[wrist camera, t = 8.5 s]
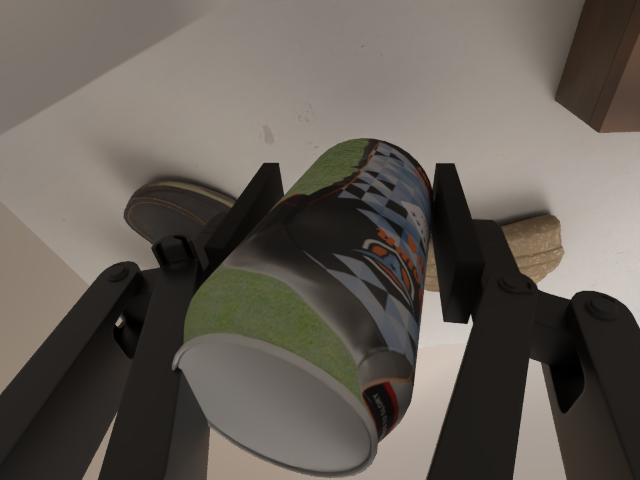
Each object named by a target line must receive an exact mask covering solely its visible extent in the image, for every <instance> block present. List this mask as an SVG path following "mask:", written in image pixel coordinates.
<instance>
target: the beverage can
mask: <svg viewBox="0 0 640 480" xmlns="http://www.w3.org/2000/svg"><path fill="white" fill-rule="evenodd" d="M433 204H434V202H433V191H432V187H431V184H430V181H429V179H428V177H427V175H426V173H425V171H424V169H423V168H422V167H421V165H420V164H419V163H418V161H417V160H415V159H414V158H413V157H412V156H411V155H410V154H409V153H408V152H406V151H404V150H403V149H401V148H400V147H398V146H396V145H393V144H391V143H388V142H386V141H382V140H377V139H366V138H360V139H353V140H348V141H345V142H342V143H339V144H337V145H335V146H333V147H332V148H330V149H328V150H327V151H326V152H325V153H324V154H322V155H321V156H320V157H319V158H318V159H317V161H316V162H315V163H314V164H313V165H312V166H311V167H310V168H309V169H308V170H307V171H306V172H305V174H304V175H303V176H302V177H301V178H300V179H299V180H298V181H297V182H296V183H295V184H294V185H293V187H292V188H291V189H290V190H289V191H288V192H287V193H286V194H285V195H284V196H283V197H282V198H281V200H280V201H279V202H278V203H277V204H276V205H275V206H274V207H273V208H272V209H271V210H270V211H269V213H268V214H267V215H266V216H265V217H264V218H263V219H262V220H261V221H260V222H259V223H258V224H257V226H256V227H255V228H254V229H253V230H252V231H251V232H250V233H249V234H248V235H247V236H246V238H245V239H244V240H243V241H242V242H241V243H240V244H239V245H238V246H237V247H236V248H235V249H234V251H233V252H232V253H231V254H230V255H229V256H228V257H227V258H226V259H225V260H224V261H223V262H222V264H221V265H220V266H219V267H218V268H217V269H216V270H215V271H214V272H213V273H212V274H211V275H210V277H209V278H208V279H207V280H206V281H205V282H204V283H203V284H202V285H201V287H200V288H199V289H198V291H197V292H196V294H195V295H194V296H193V298H192V300H191V302H190V305H189V308H188V311H187V314H186V317H185V323H184V345H183V346H182V347H181V348H180V349H179V350H178V352H177V353H176V354H175V357H174V360H173V363H172V370H175V369H176V368H177V366H178V368H179V369H182V371H183V373H184V375H185V377H186V379H187V381H188V383H189V385H190V387H191V389H192V391H193V393H194V395H195V397H196V399H197V401H198V403H199V405H200V407H201V409H202V411H203V412H204V414H205V416H206V418H207V422H208V426H209V427H210V428H212V429H213V430H214V431H215V432H217V433H218V434H219V435H221V436H222V437H224V438H225V439H227V440H228V441H229V442H231V443H232V444H234V445H236V446H237V447H239V448H241V449H242V450H244V451H246V452H248V453H250V454H252V455H254V456H255V457H258V458H259V459H262V460H264V461H266V462H269V463H271V464H273V465H276V466H279V467H281V468H284V469H287V470H290V471H294V472H297V473H301V474H305V475H310V476H316V477H325V478H343V477H348V476H353V475H356V474H358V473H361V472H363V471H365V470H366V469H367V468H368V467H369V466H370V465H371V464H372V462H373V460H374V458H375V456H376V454H377V446H378V443H379V442H380V441H381V440H382V439H384V437H386V436H387V435H388V434H389V433H390V432H391V431H392V430H393V429H394V428H395V427H396V426H397V425H398V424H399V423H400V422H401V420H402V418H403V417H404V415H405V413H406V411H407V409H408V407H409V405H410V402H411V399H412V393H413V386H414V377H415V368H416V359H417V350H418V341H419V332H420V323H421V314H422V305H423V295H424V286H425V277H426V268H427V259H428V250H429V240H430V231H431V222H432V213H433Z"/></svg>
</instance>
